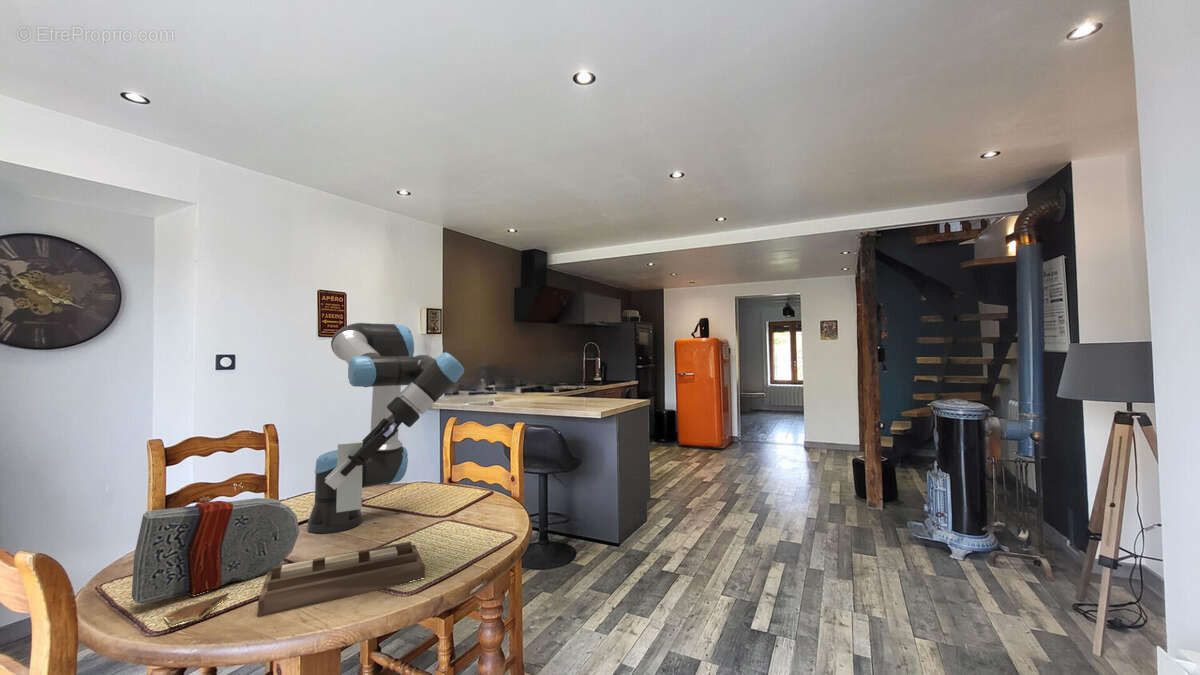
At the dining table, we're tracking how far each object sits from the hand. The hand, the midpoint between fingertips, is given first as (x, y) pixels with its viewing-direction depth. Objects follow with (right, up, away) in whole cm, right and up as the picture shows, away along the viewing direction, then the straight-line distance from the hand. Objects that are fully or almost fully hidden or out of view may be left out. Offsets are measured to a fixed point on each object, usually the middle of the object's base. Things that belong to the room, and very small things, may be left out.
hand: (330, 483), depth 106 cm
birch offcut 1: (-9, -24, +2) cm, 26 cm away
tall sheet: (+3, -6, +2) cm, 7 cm away
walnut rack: (+1, -24, +5) cm, 25 cm away
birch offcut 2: (-1, -25, +6) cm, 25 cm away
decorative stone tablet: (-27, -25, +4) cm, 37 cm away
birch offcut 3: (+7, -25, +11) cm, 28 cm away
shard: (-23, -25, -9) cm, 35 cm away
